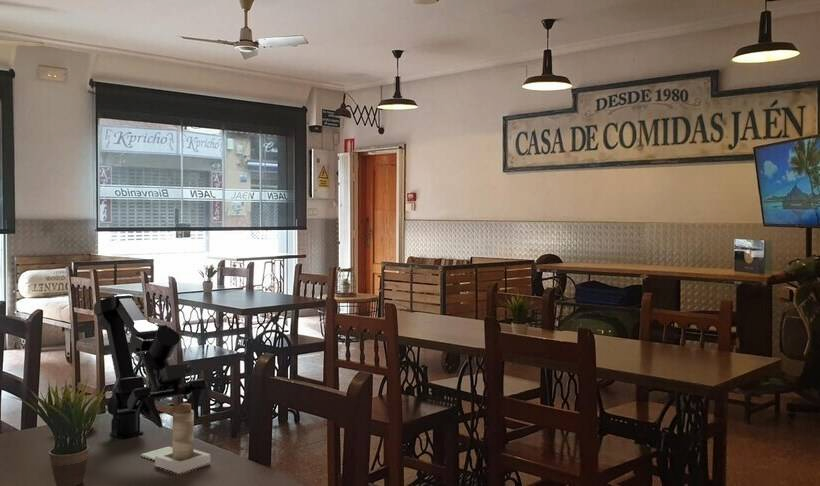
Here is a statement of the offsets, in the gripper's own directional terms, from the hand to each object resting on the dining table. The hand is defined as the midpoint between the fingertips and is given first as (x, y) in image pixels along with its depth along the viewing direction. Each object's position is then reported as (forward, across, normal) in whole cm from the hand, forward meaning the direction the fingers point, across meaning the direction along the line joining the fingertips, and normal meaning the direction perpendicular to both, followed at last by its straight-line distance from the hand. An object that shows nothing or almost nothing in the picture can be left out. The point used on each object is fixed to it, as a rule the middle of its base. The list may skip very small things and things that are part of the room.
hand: (179, 423), depth 175 cm
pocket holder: (+8, 0, +6) cm, 10 cm away
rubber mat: (+1, 0, +12) cm, 12 cm away
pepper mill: (+8, 0, +6) cm, 10 cm away
